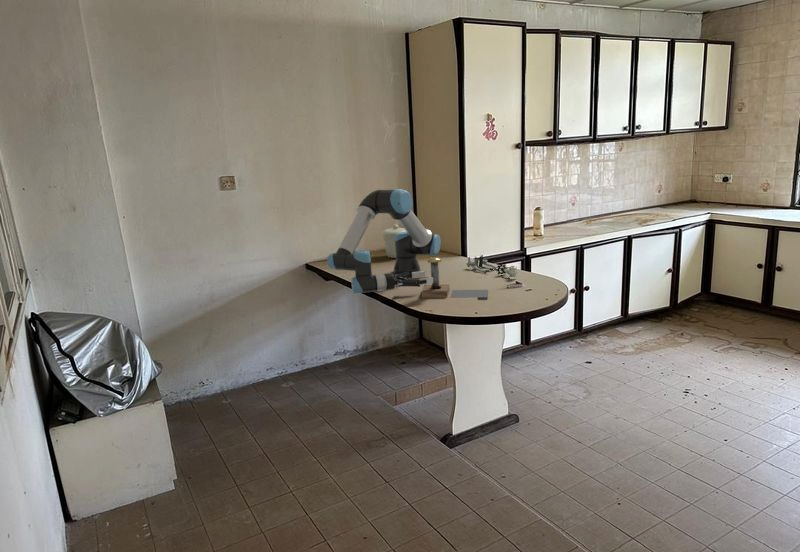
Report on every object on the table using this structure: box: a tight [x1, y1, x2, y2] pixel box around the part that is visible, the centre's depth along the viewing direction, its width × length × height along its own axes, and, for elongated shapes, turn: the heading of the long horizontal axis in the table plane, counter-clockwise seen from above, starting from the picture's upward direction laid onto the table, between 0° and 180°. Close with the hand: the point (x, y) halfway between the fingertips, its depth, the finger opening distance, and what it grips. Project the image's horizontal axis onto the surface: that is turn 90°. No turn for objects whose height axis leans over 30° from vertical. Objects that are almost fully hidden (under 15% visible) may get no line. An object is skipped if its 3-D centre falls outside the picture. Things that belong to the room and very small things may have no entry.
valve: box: [495, 263, 518, 278], centre depth 294 cm, size 7×7×12 cm
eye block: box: [421, 283, 450, 299], centre depth 268 cm, size 12×12×4 cm
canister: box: [381, 224, 406, 259], centre depth 360 cm, size 18×18×21 cm
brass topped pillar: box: [427, 256, 442, 289], centre depth 266 cm, size 6×6×17 cm
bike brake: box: [466, 254, 498, 275], centre depth 313 cm, size 14×7×20 cm
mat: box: [450, 289, 489, 300], centre depth 265 cm, size 13×17×1 cm
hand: (429, 276), depth 265 cm, fingers open, 13 cm apart
